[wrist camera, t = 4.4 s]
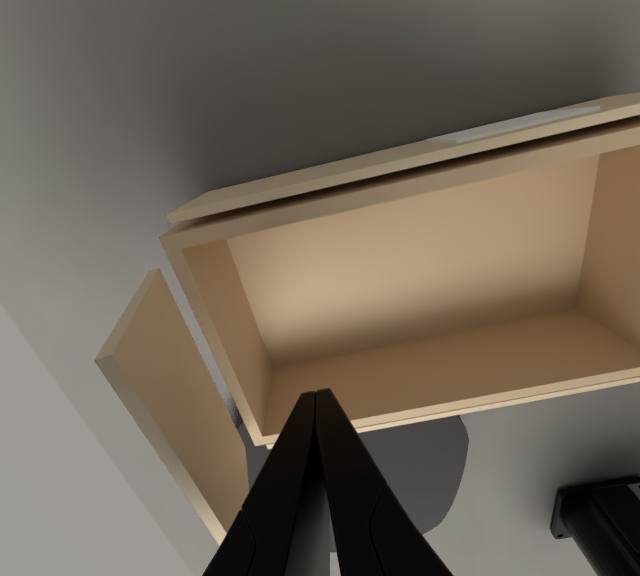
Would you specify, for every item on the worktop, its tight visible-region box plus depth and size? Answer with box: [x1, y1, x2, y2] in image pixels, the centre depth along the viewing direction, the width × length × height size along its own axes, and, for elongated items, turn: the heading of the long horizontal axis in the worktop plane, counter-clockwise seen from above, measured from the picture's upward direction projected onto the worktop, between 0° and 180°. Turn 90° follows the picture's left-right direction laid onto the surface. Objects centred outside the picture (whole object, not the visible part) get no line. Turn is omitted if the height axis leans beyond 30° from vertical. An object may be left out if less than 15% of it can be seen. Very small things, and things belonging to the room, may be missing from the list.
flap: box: [94, 269, 249, 546], centre depth 9 cm, size 8×1×5 cm, turn 12°
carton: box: [159, 92, 640, 449], centre depth 14 cm, size 11×18×5 cm, turn 102°
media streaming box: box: [236, 412, 469, 552], centre depth 21 cm, size 15×15×3 cm
